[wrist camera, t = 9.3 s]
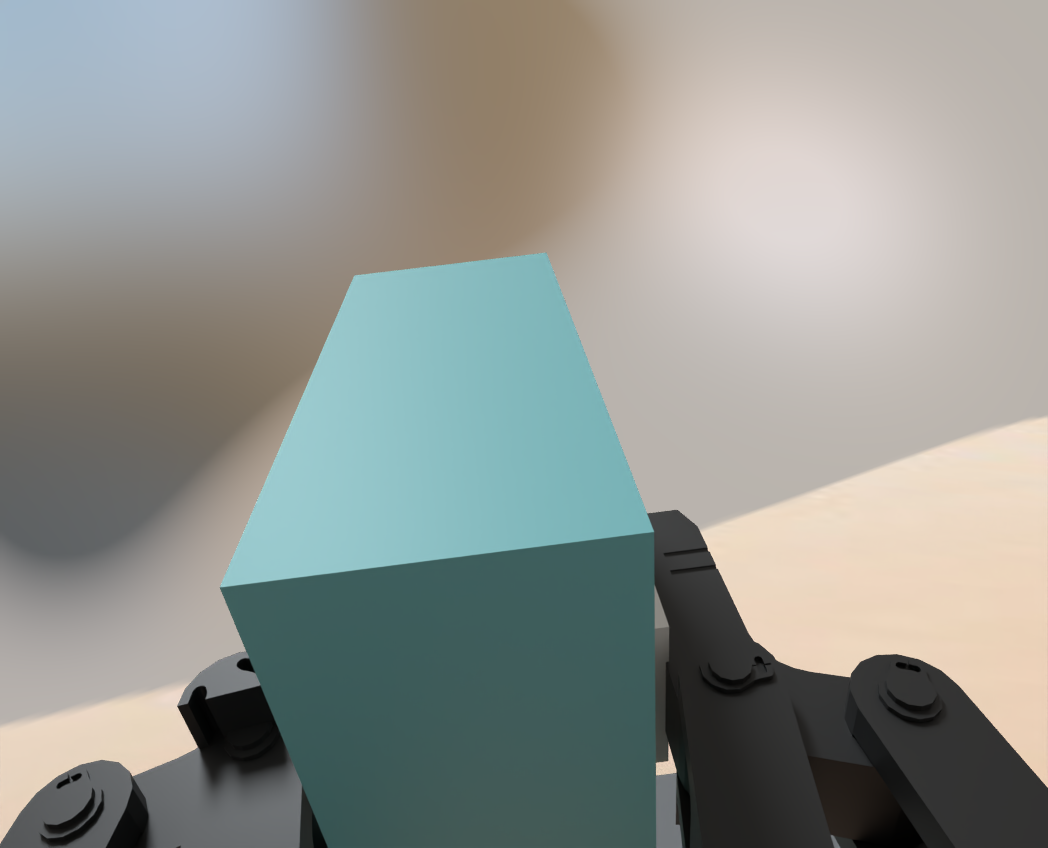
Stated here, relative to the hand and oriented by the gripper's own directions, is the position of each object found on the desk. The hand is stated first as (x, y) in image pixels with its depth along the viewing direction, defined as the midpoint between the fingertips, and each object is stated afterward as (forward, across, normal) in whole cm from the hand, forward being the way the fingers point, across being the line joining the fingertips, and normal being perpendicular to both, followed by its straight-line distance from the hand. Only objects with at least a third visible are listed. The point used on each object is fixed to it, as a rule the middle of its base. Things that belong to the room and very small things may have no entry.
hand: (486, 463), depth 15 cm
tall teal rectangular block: (-5, 0, -6) cm, 8 cm away
